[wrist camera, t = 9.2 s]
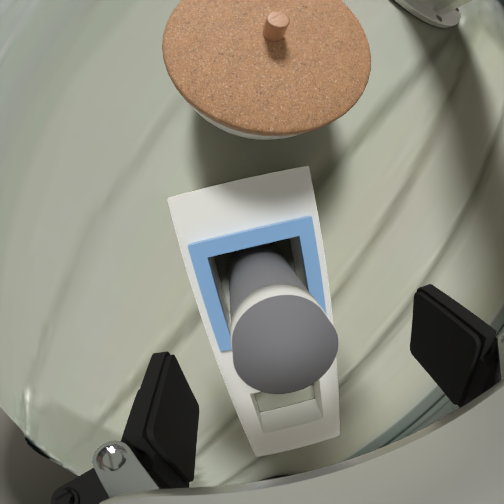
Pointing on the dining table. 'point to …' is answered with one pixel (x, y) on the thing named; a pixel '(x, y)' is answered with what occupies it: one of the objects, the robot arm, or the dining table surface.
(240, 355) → the gray ringed cylinder
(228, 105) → the lidded jar
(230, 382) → the white socket board
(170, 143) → the dining table surface
